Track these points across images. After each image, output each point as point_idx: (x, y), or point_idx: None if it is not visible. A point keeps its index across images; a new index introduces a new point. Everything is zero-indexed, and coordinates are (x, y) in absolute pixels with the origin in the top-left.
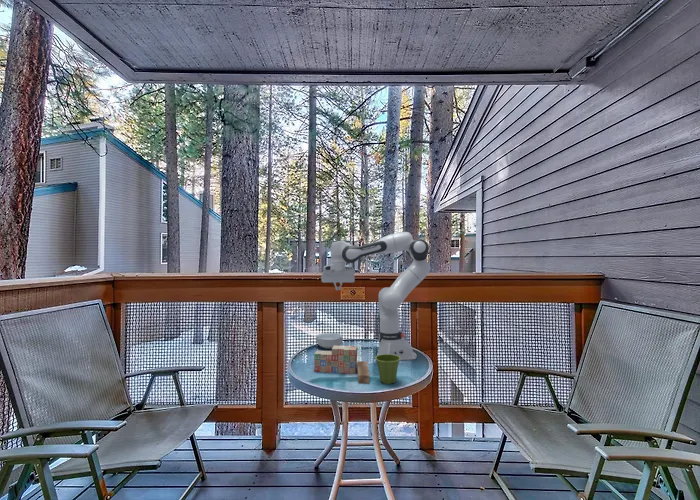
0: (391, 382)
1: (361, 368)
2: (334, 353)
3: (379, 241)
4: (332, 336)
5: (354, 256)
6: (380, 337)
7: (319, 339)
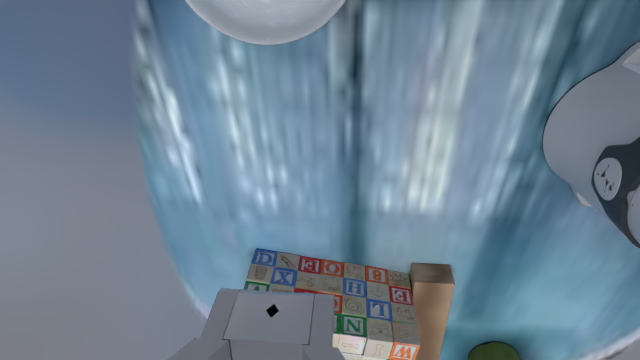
0: None
1: (419, 339)
2: None
3: None
4: None
5: None
6: (604, 204)
7: (201, 15)
